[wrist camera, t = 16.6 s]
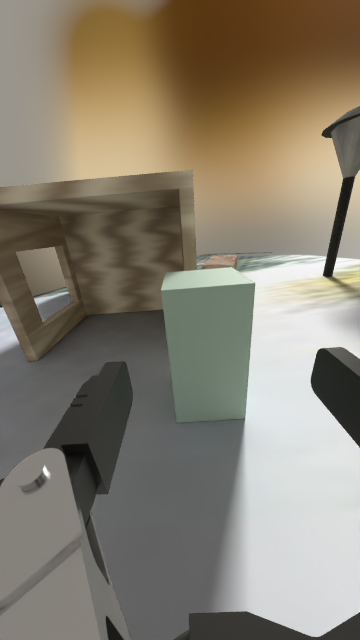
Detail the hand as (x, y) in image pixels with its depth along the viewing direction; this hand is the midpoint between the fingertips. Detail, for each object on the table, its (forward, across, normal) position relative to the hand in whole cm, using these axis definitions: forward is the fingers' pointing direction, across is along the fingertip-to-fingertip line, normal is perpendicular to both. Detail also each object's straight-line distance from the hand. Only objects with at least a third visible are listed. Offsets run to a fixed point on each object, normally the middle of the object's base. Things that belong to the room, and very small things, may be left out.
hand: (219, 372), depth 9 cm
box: (+20, +10, +7) cm, 23 cm away
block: (+6, 0, +7) cm, 9 cm away
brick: (+54, -10, +8) cm, 56 cm away
